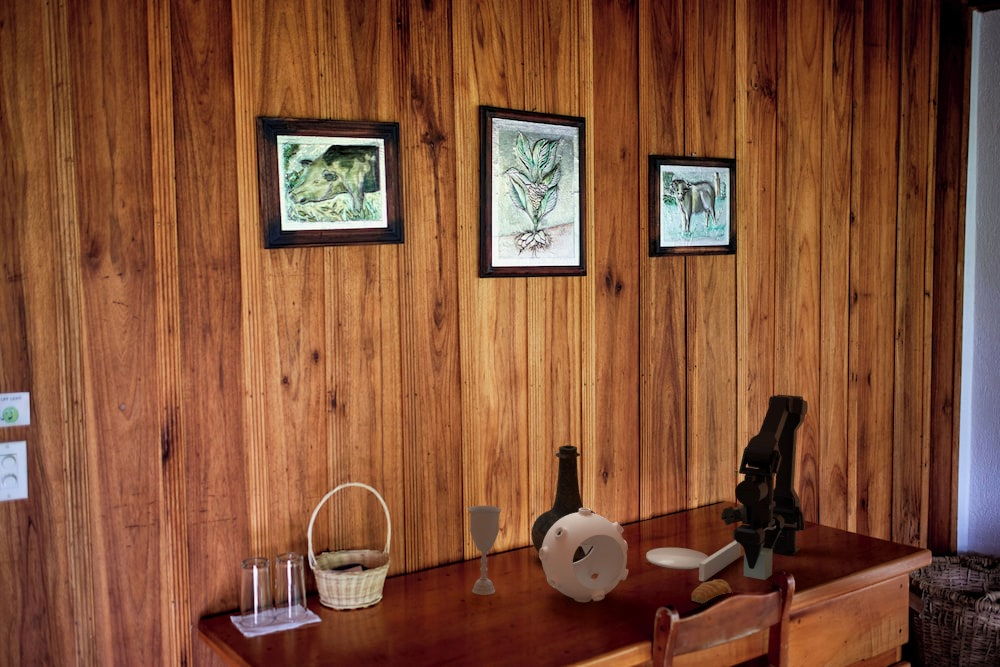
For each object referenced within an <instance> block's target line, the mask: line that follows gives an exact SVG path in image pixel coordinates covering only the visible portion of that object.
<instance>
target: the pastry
mask: <svg viewBox="0 0 1000 667" xmlns="http://www.w3.org/2000/svg"><path fill="white" fill-rule="evenodd" d="M731 592H732V588H731V587H730V584H729V583H728V582H727V581H726V580H724V579H713V580H709V581H703V582H702V583H700V584H699V586H697V587H696V588H695V589H694V590H693V591H692V592H691V594H690V596H691V601H693V602H695V603H698V604H703V603H705V602H707V601H708V600H710V599H712V598H714V597H716V596H718V595H721V594H726V593H731ZM732 593H733V592H732ZM703 605H704V604H703Z"/></svg>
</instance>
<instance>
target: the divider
mask: <svg viewBox="0 0 1000 667" xmlns="http://www.w3.org/2000/svg"><path fill="white" fill-rule="evenodd" d="M741 550H742V545H741V544H740V543H738V542H736V540H733V541H732V542H730V543H729V544H727V545H726V546H724V547H722V548H721V549H719V550H718V551H716V552H715V553H713V554H711V555H709V556H708V558H707V559H705V560H704V561H702V562H701V563H699V568H698V581H699V582H706V581H707V580H709V579H710V578H711V577H712V576H714V575H716V574H717V573H719V572H720V571H722V570H723V569H724V568H726V567H727V566H729V565H730V564H732V563H733V562H734V561H736V560H738V559H739V558H740V557H741V552H742V551H741Z"/></svg>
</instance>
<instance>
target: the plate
mask: <svg viewBox="0 0 1000 667" xmlns="http://www.w3.org/2000/svg"><path fill="white" fill-rule="evenodd" d="M645 554H646V560H647V561H648V562H649V563H651V564H653V565H655V566H659V567H662V568H666V569H667V568H668V569H676V570H693V569H699V563H701V562H702V561H704V560H705V559H707V558H708V557H709V556H708V555H707V554H705V553H704V552H701V551H698V550H695V549H692V548H691V549H689V548H686V547H685V548H683V547H659V548H653V549H650V550H649V551H648V552H646V553H645Z"/></svg>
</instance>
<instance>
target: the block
mask: <svg viewBox="0 0 1000 667" xmlns="http://www.w3.org/2000/svg"><path fill="white" fill-rule="evenodd" d="M743 551H744V550H743ZM773 553H774V552H773V549H768V548H762V550H761V553H760V555H759V558H758V561H757V563H756V565H755V568H754V569H750V568H749V566H748V562H747V558H746V555H745V551H744V553H743V554H744V555H743V577H746V578H747V577H748V578H753V579H758V580H763V581H766V580H767V579H768V578H770V577H771V576H772V575H773Z"/></svg>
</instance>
